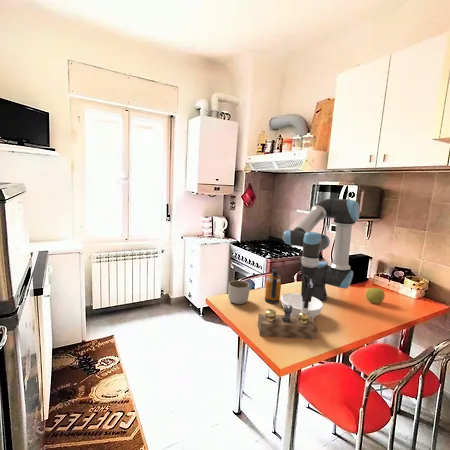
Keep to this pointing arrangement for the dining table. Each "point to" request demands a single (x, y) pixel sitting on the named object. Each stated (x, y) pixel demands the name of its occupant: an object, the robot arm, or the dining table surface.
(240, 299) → the planter
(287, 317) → the pot knob
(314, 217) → the robot arm
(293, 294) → the bowl
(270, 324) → the mount
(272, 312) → the knob
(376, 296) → the fruit
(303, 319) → the knob
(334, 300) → the dining table surface
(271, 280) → the canister
